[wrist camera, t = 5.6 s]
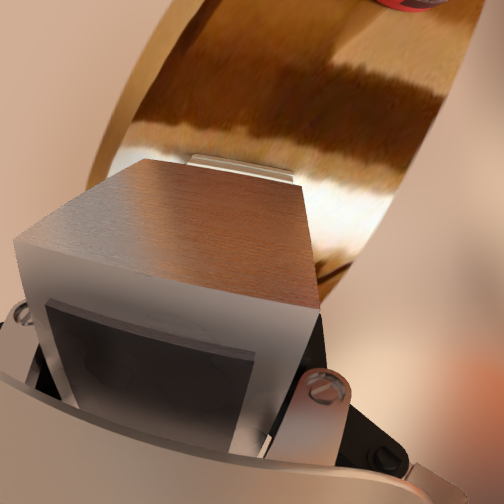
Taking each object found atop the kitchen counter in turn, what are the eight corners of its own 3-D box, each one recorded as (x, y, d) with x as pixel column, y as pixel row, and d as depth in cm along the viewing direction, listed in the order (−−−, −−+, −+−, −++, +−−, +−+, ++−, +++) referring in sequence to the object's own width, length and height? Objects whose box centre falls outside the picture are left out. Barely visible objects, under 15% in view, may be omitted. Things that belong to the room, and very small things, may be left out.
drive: (144, 158, 10) (5, 244, 4) (301, 186, 10) (321, 319, 4) (143, 341, 13) (88, 459, 8) (254, 367, 13) (236, 500, 8)
